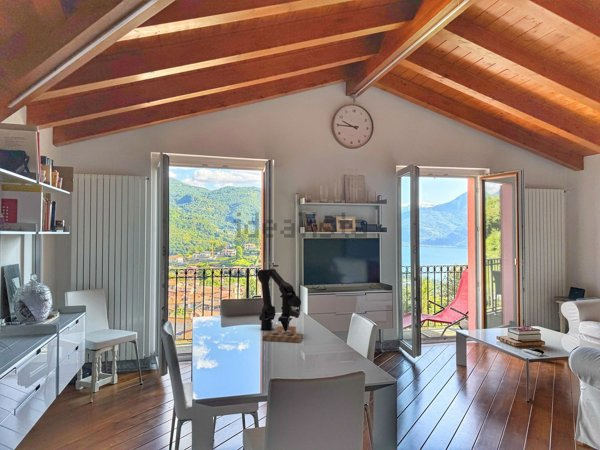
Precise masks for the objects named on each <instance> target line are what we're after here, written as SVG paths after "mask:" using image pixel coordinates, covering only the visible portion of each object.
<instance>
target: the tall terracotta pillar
mask: <svg viewBox="0 0 600 450" xmlns="http://www.w3.org/2000/svg"><path fill="white" fill-rule="evenodd" d="M283 331H285V330H284V328H283V326H282V325H277V326H276V332H280V333H283ZM287 331H290V333H297V332H296V331H297V326H293V325H291V326H290V325H289V326H287Z"/></svg>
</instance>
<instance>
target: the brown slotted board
mask: <svg viewBox="0 0 600 450" xmlns="http://www.w3.org/2000/svg"><path fill="white" fill-rule="evenodd" d="M303 339H304V333H297V332H296V333H291V332H282V333H280V332H277V331H276V332H275V331H266V332H265V333H264V334H263V335H262V341H263V342H264V341H265V342H276V343H277V342H278V343H279V342H280V343H294V344H295V343H296V344H300V343H301V342H302V341H303Z"/></svg>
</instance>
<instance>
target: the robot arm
mask: <svg viewBox="0 0 600 450" xmlns="http://www.w3.org/2000/svg"><path fill="white" fill-rule="evenodd" d="M257 279H258V281H259V282H260V284H261V293H262V301H263V303H262V304H263V306H262V308H261V314H260V315H259V317H258V320H259V321H260V322H261V323H260V324H261V325H260V326H261V327H260V331H267V332H271V330H273V322H272V321H274V320H275V316H276V314H277V313H276V307H275V306H274V305H273V304H272V299H271V290H270V283H269V282H270V280H271V279H272V280H273V281H274V282H275V283H276V285H277V287H278V290H279V291H280V293H281V294H280V296H279V298H281V314H280V316H279V317H278V322H280V323H281V326H283V328H284V330H283V331H284V332H287V331H288V330H287V326H290V323H291V321H292V320H293V318H296V319H298V318H300V316H301V312H300V309H299V307H301V305H302V300H301V298H300V297H299V295H297V293H296V292H295V289H294V287H293V285H292V284H290V283H289V282H286V281H285V280H284V278H282V276H281V275H280V274H279V273H278V271H277V270H276V269H275V268H269V269H258V271H257ZM294 308H296V309H294Z"/></svg>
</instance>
